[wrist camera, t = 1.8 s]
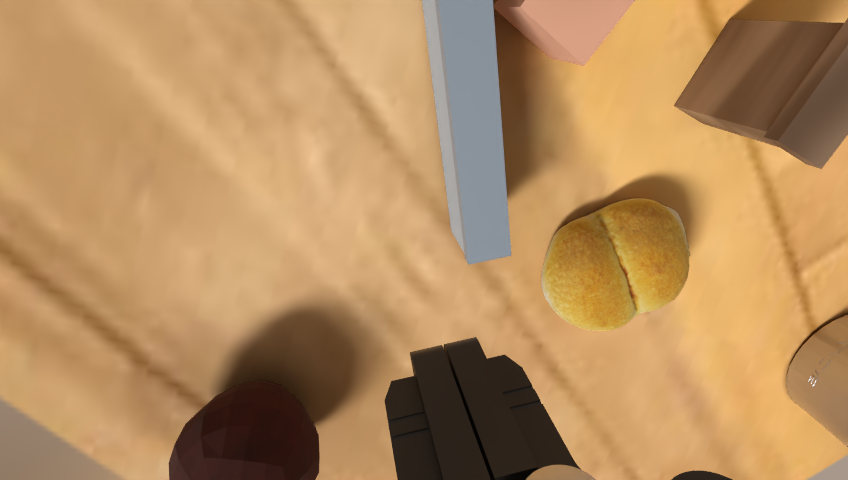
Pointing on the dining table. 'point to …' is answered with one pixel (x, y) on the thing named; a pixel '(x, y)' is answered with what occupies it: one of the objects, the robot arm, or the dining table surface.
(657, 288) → the bread roll
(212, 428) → the dark maroon ball
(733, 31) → the stepped wooden slab
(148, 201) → the dining table surface
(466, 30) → the grey rectangular bar
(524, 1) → the block
